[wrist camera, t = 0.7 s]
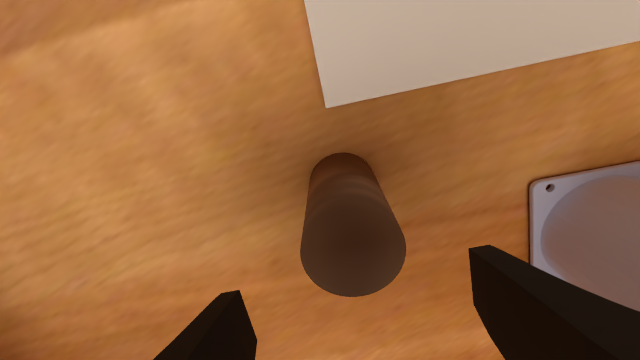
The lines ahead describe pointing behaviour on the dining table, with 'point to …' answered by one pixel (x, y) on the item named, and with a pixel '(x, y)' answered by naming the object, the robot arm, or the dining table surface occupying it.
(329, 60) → the socket board
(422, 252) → the dining table surface
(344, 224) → the peg
